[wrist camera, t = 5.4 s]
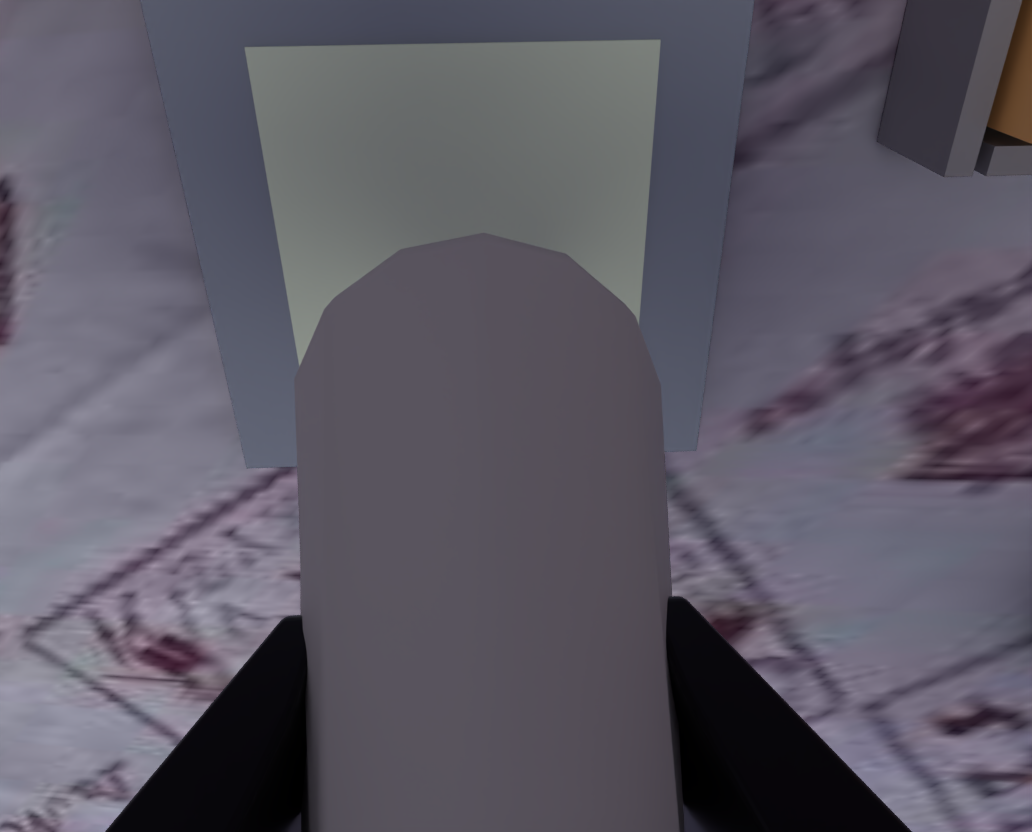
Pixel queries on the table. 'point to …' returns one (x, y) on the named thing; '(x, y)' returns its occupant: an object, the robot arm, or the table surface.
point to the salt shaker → (484, 552)
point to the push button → (1016, 82)
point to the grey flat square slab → (449, 162)
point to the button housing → (952, 89)
